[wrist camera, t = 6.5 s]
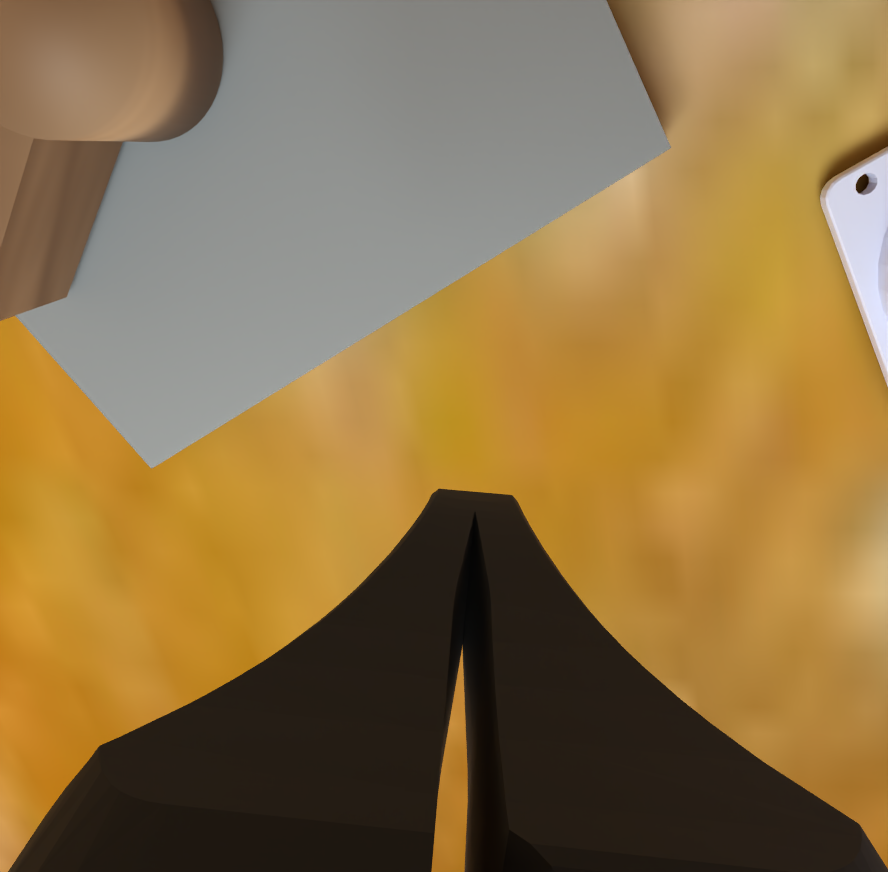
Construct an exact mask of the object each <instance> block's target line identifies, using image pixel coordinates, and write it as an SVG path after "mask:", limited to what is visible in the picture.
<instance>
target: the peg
mask: <svg viewBox="0 0 888 872" xmlns="http://www.w3.org/2000/svg"><path fill="white" fill-rule="evenodd" d="M222 66H223V46H222V39H221V32H220V28H219V24H218V21H217V17H216V14H215V12H214V9H213V6H212V4H211V2H210V0H0V321H1V320H4V319H7V318H9V317H12V316H15V315H18V314H21V313H24V312H26V311H29V310H32V309H35V308H38V307H41V306H43V305H46V304H49V303H52V302H55V301H57V300H60V299H63V298H66V297H67V295H68V292H69V289H70V287H71V284H72V281H73V278H74V276H75V273H76V270H77V267H78V265H79V262H80V259H81V256H82V253H83V251H84V248H85V245H86V242H87V240H88V237H89V234H90V231H91V229H92V226H93V223H94V220H95V218H96V215H97V212H98V209H99V207H100V204H101V201H102V198H103V195H104V193H105V190H106V187H107V184H108V182H109V179H110V176H111V173H112V171H113V168H114V165H115V162H116V160H117V157H118V154H119V151H120V148H121V146H122V143H123V142H160V141H166V140H170V139H173V138H176V137H179V136H181V135H182V134H184V133H186V132H188V131H189V130H191V129H192V128H193V127H194V126H196V125H197V124H198V123H199V122H200V121H201V120H202V119H203V117H204V116H205V115H206V113H207V112H208V110H209V109H210V107H211V105H212V103H213V101H214V99H215V97H216V94H217V91H218V89H219V86H220V81H221V76H222Z"/></svg>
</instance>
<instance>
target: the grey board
mask: <svg viewBox="0 0 888 872" xmlns="http://www.w3.org/2000/svg"><path fill="white" fill-rule="evenodd" d="M210 2H211V4H212V6H213V9H214V12H215V14H216V17H217V21H218V24H219V28H220V32H221V39H222V46H223V66H222V76H221V81H220V86H219V89H218V91H217V94H216V97H215V99H214V101H213V103H212V105H211V107H210V109H209V110H208V112H207V113H206V115H205V116H204V117H203V119H202V120H201V121H200V122H199V123H198V124H197V125H196V126H194V127H193V128H192V129H191V130H189V131H188V132H186V133H184V134H182V135H181V136H179V137H176V138H173V139H170V140H166V141H160V142H123V143H122V146H121V148H120V151H119V154H118V157H117V160H116V162H115V165H114V168H113V171H112V173H111V176H110V179H109V182H108V184H107V187H106V190H105V193H104V195H103V198H102V201H101V204H100V207H99V209H98V212H97V215H96V218H95V220H94V223H93V226H92V229H91V231H90V234H89V237H88V240H87V242H86V245H85V248H84V251H83V253H82V256H81V259H80V262H79V265H78V267H77V270H76V273H75V276H74V278H73V281H72V284H71V287H70V289H69V292H68V295H67V297H66V298H63V299H60V300H57V301H55V302H52V303H49V304H46V305H43V306H41V307H38V308H35V309H32V310H29V311H26V312H24V313H21V314H18V315H15V316H16V317H17V318H18V319H19V320H20V321H21V322H22V323H23V325H24V326H25V327H26V328H27V329H28V330H29V331H30V332H31V334H32V335H33V336H34V337H35V338H36V339H37V340H38V341H39V343H40V344H41V345H42V346H43V347H44V348H45V349H46V350H47V352H48V353H49V354H50V355H51V356H52V357H53V358H54V359H55V361H56V362H57V363H58V364H59V365H60V366H61V367H62V368H63V370H64V371H65V372H66V373H67V374H68V375H69V376H70V377H71V379H72V380H73V381H74V382H75V383H76V384H77V385H78V386H79V388H80V389H81V390H82V391H83V392H84V393H85V394H86V396H87V397H88V398H89V399H90V400H91V401H92V402H93V403H94V405H95V406H96V407H97V408H98V409H99V410H100V411H101V412H102V414H103V415H104V416H105V417H106V418H107V419H108V420H109V421H110V423H111V424H112V425H113V426H114V427H115V428H116V429H117V430H118V432H119V433H120V434H121V435H122V436H123V437H124V438H125V439H126V441H127V442H128V443H129V444H130V445H131V446H132V447H133V448H134V450H135V451H136V452H137V453H138V454H139V455H140V456H141V457H142V459H143V460H144V461H145V462H146V463H147V464H148V465H149V466H150V468H151V469H152V468H153V467H155V466H157V465H158V464H160V463H162V462H163V461H165V460H166V459H168V458H170V457H171V456H173V455H175V454H176V453H178V452H179V451H181V450H183V449H184V448H186V447H187V446H189V445H191V444H192V443H194V442H196V441H197V440H199V439H200V438H202V437H204V436H205V435H207V434H209V433H210V432H212V431H213V430H215V429H217V428H218V427H220V426H221V425H223V424H225V423H226V422H228V421H230V420H231V419H233V418H234V417H236V416H238V415H239V414H241V413H243V412H244V411H246V410H247V409H249V408H251V407H252V406H254V405H255V404H257V403H259V402H260V401H262V400H264V399H265V398H267V397H268V396H270V395H272V394H273V393H275V392H277V391H278V390H280V389H281V388H283V387H285V386H286V385H288V384H289V383H291V382H293V381H294V380H296V379H298V378H299V377H301V376H302V375H304V374H306V373H307V372H309V371H311V370H312V369H314V368H315V367H317V366H319V365H320V364H322V363H323V362H325V361H327V360H328V359H330V358H332V357H333V356H335V355H336V354H338V353H340V352H341V351H343V350H345V349H346V348H348V347H349V346H351V345H353V344H354V343H356V342H358V341H359V340H361V339H362V338H364V337H366V336H367V335H369V334H370V333H372V332H374V331H375V330H377V329H379V328H380V327H382V326H383V325H385V324H387V323H388V322H390V321H392V320H393V319H395V318H396V317H398V316H400V315H401V314H403V313H404V312H406V311H408V310H409V309H411V308H413V307H414V306H416V305H417V304H419V303H421V302H422V301H424V300H426V299H427V298H429V297H430V296H432V295H434V294H435V293H437V292H438V291H440V290H442V289H443V288H445V287H447V286H448V285H450V284H451V283H453V282H455V281H456V280H458V279H460V278H461V277H463V276H464V275H466V274H468V273H469V272H471V271H472V270H474V269H476V268H477V267H479V266H481V265H482V264H484V263H485V262H487V261H489V260H490V259H492V258H494V257H495V256H497V255H498V254H500V253H502V252H503V251H505V250H506V249H508V248H510V247H511V246H513V245H515V244H516V243H518V242H519V241H521V240H523V239H524V238H526V237H528V236H529V235H531V234H532V233H534V232H536V231H537V230H539V229H541V228H542V227H544V226H545V225H547V224H549V223H550V222H552V221H553V220H555V219H557V218H558V217H560V216H562V215H563V214H565V213H566V212H568V211H570V210H571V209H573V208H575V207H576V206H578V205H579V204H581V203H583V202H584V201H586V200H587V199H589V198H591V197H592V196H594V195H596V194H597V193H599V192H600V191H602V190H604V189H605V188H607V187H609V186H610V185H612V184H613V183H615V182H617V181H618V180H620V179H621V178H623V177H625V176H626V175H628V174H630V173H631V172H633V171H634V170H636V169H638V168H639V167H641V166H643V165H644V164H646V163H647V162H649V161H651V160H652V159H654V158H655V157H657V156H659V155H660V154H662V153H664V152H665V151H667V150H668V149H670V148H671V146H670V144H669V142H668V140H667V137H666V135H665V133H664V131H663V128H662V126H661V124H660V121H659V119H658V117H657V115H656V112H655V110H654V108H653V105H652V103H651V101H650V99H649V96H648V94H647V92H646V89H645V87H644V85H643V83H642V80H641V78H640V76H639V74H638V71H637V69H636V67H635V64H634V62H633V60H632V58H631V55H630V53H629V51H628V48H627V46H626V44H625V42H624V39H623V37H622V35H621V32H620V30H619V28H618V26H617V23H616V21H615V19H614V17H613V14H612V12H611V10H610V7H609V5H608V3H607V1H606V0H210Z"/></svg>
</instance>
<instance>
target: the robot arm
mask: <svg viewBox="0 0 888 872" xmlns="http://www.w3.org/2000/svg"><path fill="white" fill-rule="evenodd" d="M863 174H866V175H867V176H868V177H869V184H868V186H867V188H866V189H865V190H864V191H863V192H861V193H858V192H857V191H856V183H857V180H858V179H859V178H860V177H861V176H862V175H863ZM820 201H821V206H822V209H823V212H824V214H825V217H826V220H827V223H828V225H829V228H830V231H831V233H832V236H833V239H834V242H835V244H836V247H837V250H838V253H839V255H840V258H841V261H842V263H843V266H844V269H845V272H846V274H847V277H848V280H849V283H850V285H851V288H852V291H853V293H854V296H855V299H856V302H857V304H858V307H859V310H860V313H861V315H862V318H863V321H864V323H865V326H866V329H867V332H868V334H869V337H870V340H871V343H872V345H873V348H874V351H875V353H876V356H877V359H878V362H879V364H880V367H881V370H882V373H883V375H884V378H885V381H886V383H887V386H888V147H886V148H884V149H882V150H880V151H879V152H877V153H875V154H873V155H872V156H870V157H868V158H866V159H864V160H863V161H861V162H859V163H857V164H856V165H854V166H852V167H850V168H848V169H847V170H845V171H843V172H841V173H840V174H838V175H836V176H834V177H833V178H832V179H830V180H829V181H828V182H827V183H826V184H825V186H824V187H823V189H822V192H821V195H820ZM462 644H463V668H464V692H465V716H466V740H467V763H468V810H467V832H466V853H465V872H888V869H887V867H886V866H885V864H884V863H883V861H882V859H881V858H880V856H879V855H878V853H877V852H876V850H875V848H874V847H873V845H872V844H871V842H870V840H869V839H868V837H867V836H866V834H865V832H864V831H863V829H862V828H861V826H860V825H859V824H858V823H857V822H855V821H854V820H852V819H851V818H849V817H847V816H846V815H844V814H843V813H841V812H840V811H838V810H837V809H835V808H834V807H832V806H830V805H829V804H827V803H826V802H824V801H823V800H821V799H820V798H818V797H817V796H815V795H814V794H812V793H810V792H809V791H807V790H806V789H804V788H803V787H801V786H800V785H798V784H797V783H795V782H793V781H792V780H790V779H789V778H787V777H786V776H784V775H783V774H781V773H780V772H778V771H776V770H775V769H773V768H772V767H770V766H769V765H767V764H766V763H764V762H763V761H761V760H760V759H759V758H757V757H756V756H754V755H753V754H751V753H750V752H749V751H747V750H746V749H745V748H743V747H742V746H741V745H739V744H738V743H737V742H735V741H734V740H733V739H731V738H730V737H729V736H727V735H726V734H724V733H723V732H722V731H720V730H719V729H718V728H716V727H715V726H714V725H712V724H711V723H710V722H708V721H707V720H706V719H705V718H703V717H702V716H701V715H700V714H698V713H697V712H696V711H695V710H693V709H692V708H691V707H689V706H688V705H687V704H686V703H684V702H683V701H682V700H681V699H680V698H678V697H677V696H676V695H675V694H674V693H673V692H672V691H670V690H669V689H668V688H667V687H666V686H665V685H664V684H662V683H661V682H660V681H659V680H658V679H657V678H656V677H654V676H653V675H652V674H651V673H650V672H649V671H648V670H646V669H645V668H644V667H643V666H642V665H641V664H640V663H639V662H638V661H637V660H636V659H635V658H634V657H632V656H631V655H630V654H629V653H628V652H627V651H626V650H625V649H624V648H623V647H622V646H621V645H620V644H619V643H618V642H617V640H616V639H615V638H614V637H613V636H612V635H611V634H610V633H609V632H608V631H607V630H606V629H605V628H604V627H603V626H602V625H601V624H600V622H599V621H598V620H597V619H596V618H595V617H594V615H593V614H592V613H591V612H590V611H589V610H588V608H587V607H586V606H585V605H584V603H583V602H582V601H581V600H580V598H579V597H578V596H577V595H576V593H575V592H574V591H573V589H572V588H571V587H570V586H569V584H568V583H567V581H566V580H565V579H564V577H563V576H562V575H561V573H560V572H559V570H558V569H557V567H556V566H555V564H554V563H553V561H552V560H551V559H550V557H549V556H548V554H547V553H546V551H545V550H544V548H543V547H542V545H541V543H540V542H539V540H538V539H537V537H536V535H535V533H534V532H533V530H532V528H531V527H530V525H529V523H528V521H527V519H526V518H525V516H524V514H523V512H522V510H521V508H520V506H519V504H518V502H517V500H516V499H515V498H514V497H513V496H512V495H504V494H493V493H481V492H470V491H458V490H447V489H438V490H437V491H436V492H434V493H433V494H432V495H431V497H430V499H429V501H428V503H427V505H426V506H425V508H424V510H423V511H422V513H421V514H420V516H419V517H418V518H417V520H416V521H415V523H414V524H413V525H412V527H411V528H410V529H409V531H408V532H407V533H406V534H405V536H404V537H403V538H402V539H401V540H400V542H399V543H398V544H397V545H396V547H395V548H394V549H393V550H392V552H391V553H390V554H389V555H388V556H387V557H386V558H385V559H384V560H383V561H382V563H381V564H380V565H379V566H378V567H377V568H376V569H375V570H374V571H373V572H372V573H371V574H370V575H369V576H368V577H367V578H366V579H365V580H364V581H363V582H362V583H361V584H360V585H359V586H358V587H357V588H356V589H355V590H354V591H353V592H352V593H351V594H350V595H349V596H348V597H347V598H346V599H344V600H343V601H342V602H341V603H340V604H339V605H338V606H336V607H335V608H334V609H333V610H332V611H331V612H329V613H328V614H327V615H326V616H325V617H323V618H322V619H321V620H320V621H318V622H317V623H316V624H315V625H313V626H312V627H311V628H309V629H308V630H307V631H305V632H304V633H303V634H301V635H300V636H299V637H297V638H296V639H295V640H293V641H292V642H291V643H289V644H288V645H287V646H285V647H284V648H282V649H281V650H279V651H278V652H276V653H275V654H274V655H272V656H271V657H269V658H268V659H266V660H265V661H263V662H261V663H260V664H258V665H256V666H255V667H253V668H252V669H250V670H248V671H247V672H245V673H243V674H242V675H240V676H238V677H237V678H235V679H233V680H231V681H230V682H228V683H226V684H224V685H223V686H221V687H219V688H217V689H216V690H214V691H212V692H210V693H208V694H207V695H205V696H203V697H201V698H199V699H197V700H195V701H193V702H191V703H190V704H188V705H186V706H183V707H181V708H179V709H177V710H175V711H173V712H171V713H169V714H167V715H165V716H163V717H161V718H158V719H156V720H154V721H152V722H150V723H148V724H146V725H144V726H142V727H140V728H138V729H136V730H133V731H131V732H129V733H127V734H125V735H123V736H121V737H119V738H116V739H114V740H112V741H110V742H107V743H105V744H103V745H101V746H99V747H98V748H97V750H96V751H95V753H94V754H93V755H92V757H91V758H90V759H89V761H88V762H87V763H86V764H85V766H84V767H83V768H82V769H81V770H80V772H79V773H78V774H77V775H76V776H75V778H74V779H73V780H72V781H71V782H70V784H69V785H68V786H67V787H66V788H65V790H64V791H63V792H62V794H61V795H60V797H59V798H58V799H57V801H56V802H55V803H54V805H53V806H52V808H51V809H50V810H49V812H48V813H47V814H46V816H45V817H44V819H43V820H42V822H41V823H40V825H39V826H38V828H37V829H36V831H35V832H34V834H33V835H32V837H31V838H30V840H29V841H28V843H27V844H26V846H25V847H24V849H23V850H22V852H21V853H20V855H19V856H18V858H17V859H16V861H15V862H14V864H13V865H12V867H11V868H10V870H9V871H8V872H431V869H432V857H433V845H434V833H435V821H436V809H437V797H438V789H439V782H440V774H441V767H442V761H443V755H444V749H445V744H446V738H447V732H448V726H449V720H450V715H451V709H452V703H453V697H454V691H455V685H456V680H457V674H458V668H459V662H460V656H461V650H462Z"/></svg>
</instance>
